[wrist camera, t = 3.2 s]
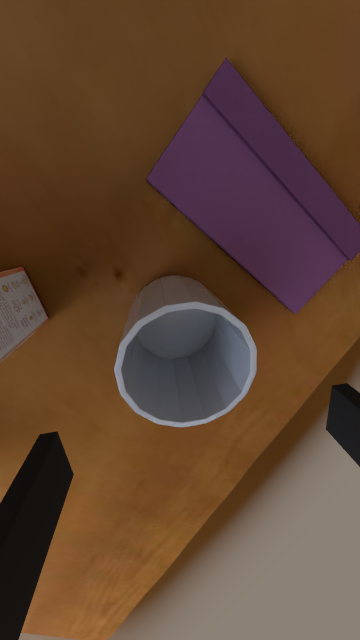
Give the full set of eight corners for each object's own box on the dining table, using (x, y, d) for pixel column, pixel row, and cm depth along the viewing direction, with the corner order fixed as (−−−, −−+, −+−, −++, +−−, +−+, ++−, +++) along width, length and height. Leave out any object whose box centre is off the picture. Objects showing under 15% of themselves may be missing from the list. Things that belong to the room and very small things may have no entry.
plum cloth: (291, 311, 26) (298, 315, 25) (146, 180, 20) (145, 177, 19) (361, 238, 24) (372, 238, 23) (222, 67, 18) (227, 55, 17)
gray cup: (138, 364, 26) (130, 436, 17) (121, 281, 23) (100, 314, 14) (220, 352, 27) (256, 415, 18) (216, 269, 24) (257, 293, 14)
